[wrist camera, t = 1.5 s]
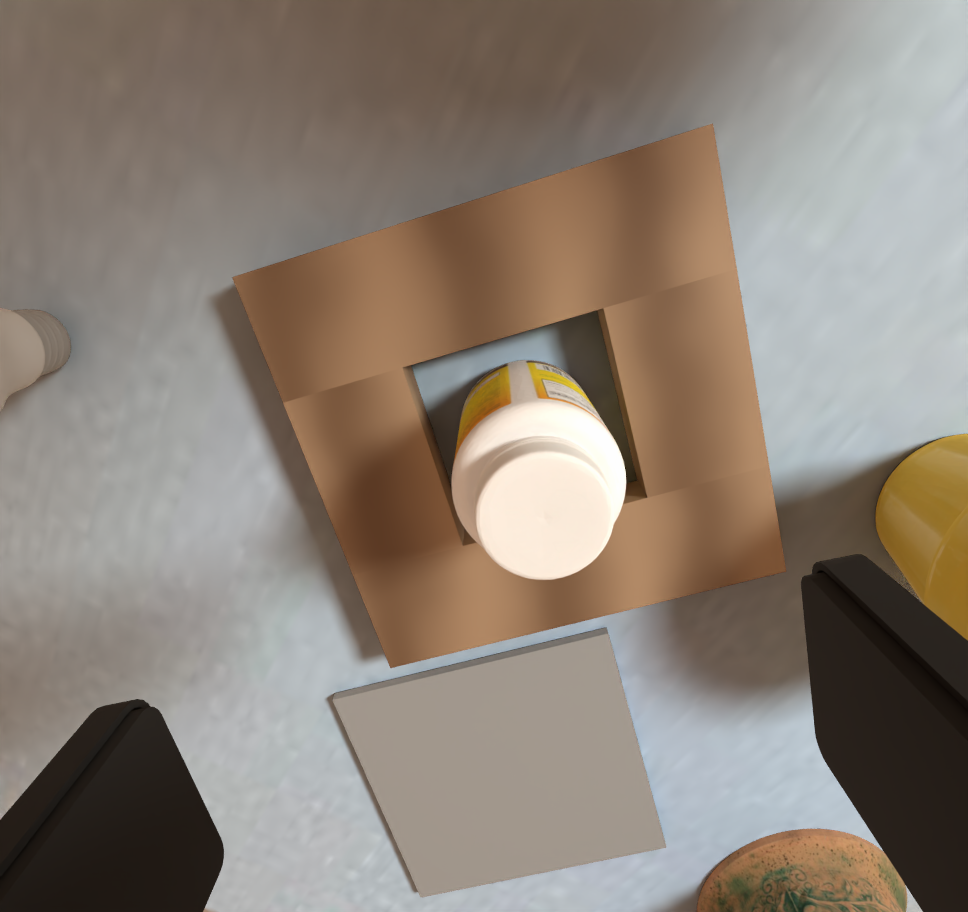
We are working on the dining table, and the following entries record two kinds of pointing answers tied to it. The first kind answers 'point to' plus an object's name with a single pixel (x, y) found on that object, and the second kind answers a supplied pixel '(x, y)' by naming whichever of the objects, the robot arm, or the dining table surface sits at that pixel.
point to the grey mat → (506, 764)
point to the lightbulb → (29, 348)
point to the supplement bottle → (536, 471)
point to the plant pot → (931, 526)
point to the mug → (805, 876)
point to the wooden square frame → (511, 310)
